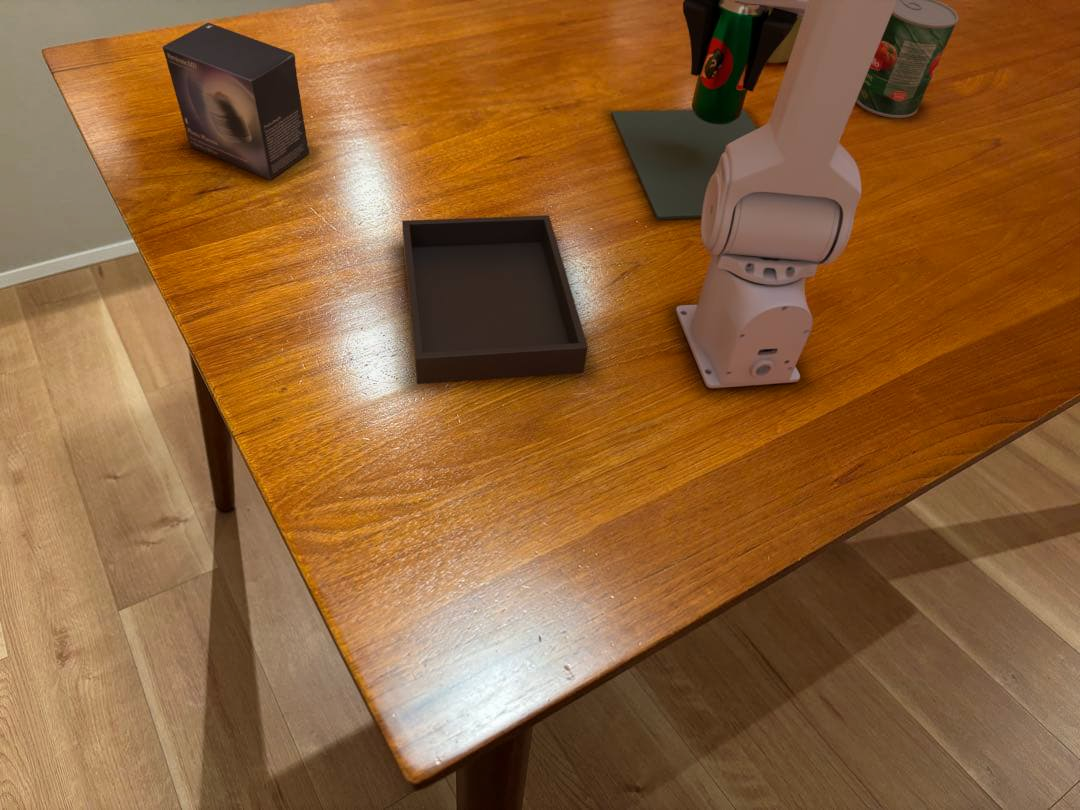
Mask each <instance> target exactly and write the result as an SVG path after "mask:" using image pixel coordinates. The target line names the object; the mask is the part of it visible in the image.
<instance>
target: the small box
mask: <svg viewBox="0 0 1080 810" xmlns="http://www.w3.org/2000/svg"><path fill="white" fill-rule="evenodd" d="M161 48H162V51H163V53H164V57H165V60H166V65H167V68H168V72H169V75H170V79H171V82H172V87H173V90H174V93H175V96H176V100H177V104H178V107H179V111H180V115H181V118H182V123H183V126H184V129H185V134H186V137H187V141H188V146H189V147H191V148H192V149H195V150H198V151H200V152H203V153H206V154H208V155H211V156H213V157H215V158H217V159H219V160H222V161H224V162H227V163H229V164H231V165H233V166H236V167H239V168H241V169H244V170H246V171H247V172H250V173H252V174H255V175H258V176H259V177H262V178H264V179H267V180H268V181H271V180H273V179H275V178H276V177H277V176H279V175H280V174H282V173H283V172H284V171H287V169H289V168H290V167H292V166H293V165H295V164H296V163H298V162H299V161H301V159H304V158H305V157H306V156H307V155H309V154H310V148H309V144H308V143H309V142H308V137H307V132H306V125H305V119H304V113H303V106H302V101H301V94H300V93H301V92H300V88H299V82H298V75H297V74H298V73H297V72H298V71H297V66H296V63H297V62H296V56H295V53H294V52H292V51H289V50H286V49H283V48H280V47H277V46H275V45H272V44H269V43H267V42H264V41H261V40H258V39H255V38H252V37H249V36H247V35H244V34H241V33H238V32H236V31H233V30H230V29H228V28H225V27H222V26H220V25H217V24H214V23H211V22H206V23H204V24H202V25H200V26H199V27H197V28H194V29H193V30H191V31H189V32H187V33H185V34H183V35H181V36H179V37H177V38H176V39H173V40H172V41H170V42H168V43H166V44H164V45H162V47H161Z"/></svg>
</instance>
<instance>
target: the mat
mask: <svg viewBox="0 0 1080 810" xmlns="http://www.w3.org/2000/svg"><path fill="white" fill-rule="evenodd" d="M610 115H611V118H612V120H613V122H614V125H615V126H616V129H617V131H618V133H619V136H620V138H621V140H622V142H623V145H624V147H625V150H626V151H627V154H628V156H629V159H630V161H631V164H632V166H633V169H634V170H635V172H636V173H635V174H636V175H637V177H638V181H639V182H640V184H641V186H642V189H643V191H644V193H645V196H646V198H647V200H648V203H649V206H650V207H651V210H652V211H653V214H654V216H655V219H656V220H657V221H665V220H693V219H694V220H695V219H701V218H702V209H703V203H704V198H705V193H706V189H707V186H708V183H709V180H710V178H711V177H712V175H713V174H714V173H715V171H716V169H717V166H718V164H719V161H720V158H721V155H722V154H723V153H724V152H725V149H726V146H727V145H728V144H729V143H731V142H733V141H735V140H736V139H738V138H740V137H742V136H744V135H746V134H748V133H750V132H752V131H754V130H756V129H758V128H757V127H756V125H755V123H754V122H753V120H752V118H751V117H750V115H749V113H748V112H747V111H746V109H743V108H742V112H741V115H740V117H739V118H737V119H736V120H735V121H733V122H731V123H729V124H723V125H719V124H712V123H708V122H705V121H703V120H701V119H700V118H698V117H697V116H696V114H695V113H694V111H693V109H685V110H684V109H683V110H681V109H679V110H676V109H675V110H673V109H671V110H614V111H613V110H612V111H611V112H610Z"/></svg>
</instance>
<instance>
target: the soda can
mask: <svg viewBox="0 0 1080 810" xmlns="http://www.w3.org/2000/svg"><path fill="white" fill-rule="evenodd" d="M769 12H770V11H769V10H767V7H766V5H758V4H749V3H743V2H739V1H735V0H715V5H714V9H713V13H712V18H711V22H710V26H709V31H708V35H707V39H706V44H705V48H704V52H703V57H702V61H701V66H700V70H699V74H698V76H697V79H696V83H695V88H694V91H693V97H692V99H691V110H693V111H694V113H695V114H696V116H697V117H698V118H700V119H701V120H703V121H705V122H708V123H712V124H719V125H723V124H729V123H731V122H733V121H735V120H736V119H737V118H739V117H740V115H741V112H742V109H743V108H744V104H745V100H746V97H747V94H748V90H745V88H746V84H747V80H748V77H749V75H750V72H751V69H752V66H753V64H754V61H755V57H756V53H757V49H758V45H759V41H760V36H761V31H762V26H763V23H764V21H765V20H766V18H767V17H768V15H769Z"/></svg>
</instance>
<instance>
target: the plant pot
mask: <svg viewBox="0 0 1080 810" xmlns="http://www.w3.org/2000/svg"><path fill="white" fill-rule="evenodd" d="M770 13H771V11H770V12H769V14H770ZM801 22H802V19H800V18H798V19H797V21H796V23H795V25H794V26H793V28H792V30H791V31H790V33H789V34H788V35H787V36H786V38H785V39H784V40H783V41H782V42H781V44H780V45H779V46H778V47H777V48H776V50H775V51H774V52H773V54H772V55H771V57H770V58H769V59H768V61H767V62H766V63H769V64H782V63H786V62H789V59H790V56H791V53H792V50H793V46H794V43H795V40H796V37H797V34H798V31H799V28H800V25H801Z"/></svg>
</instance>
